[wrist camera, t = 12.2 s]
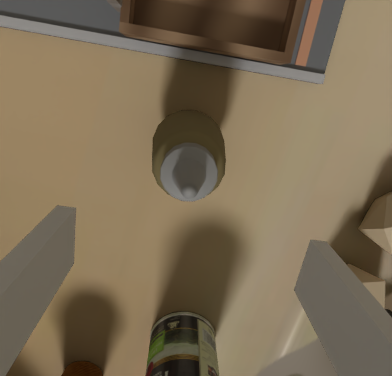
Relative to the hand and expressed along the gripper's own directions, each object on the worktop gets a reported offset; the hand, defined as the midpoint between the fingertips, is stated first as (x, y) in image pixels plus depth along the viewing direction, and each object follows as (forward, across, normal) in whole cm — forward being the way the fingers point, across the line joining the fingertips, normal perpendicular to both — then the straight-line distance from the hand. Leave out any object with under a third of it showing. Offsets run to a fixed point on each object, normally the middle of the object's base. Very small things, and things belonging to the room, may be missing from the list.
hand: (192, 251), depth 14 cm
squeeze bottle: (+26, 0, 0) cm, 26 cm away
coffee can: (+26, -4, +31) cm, 41 cm away
